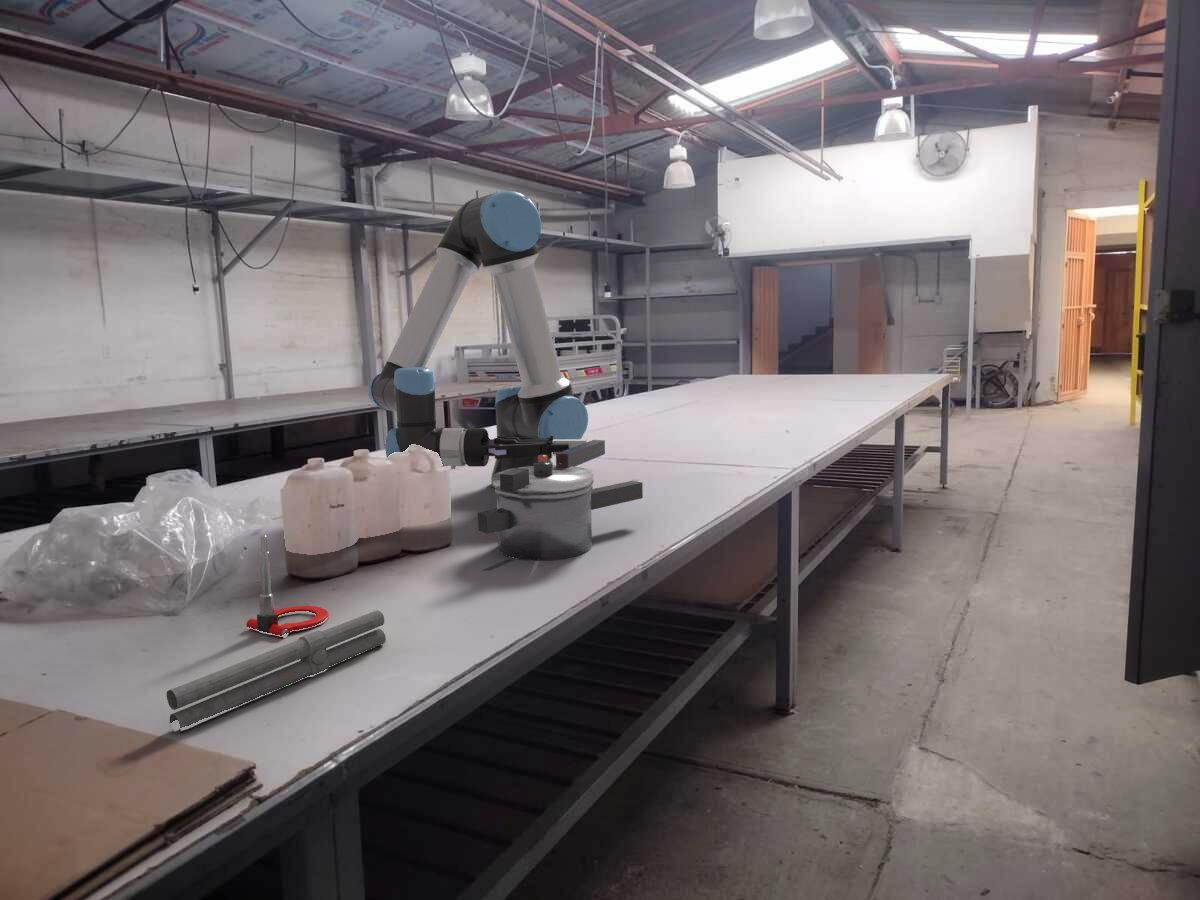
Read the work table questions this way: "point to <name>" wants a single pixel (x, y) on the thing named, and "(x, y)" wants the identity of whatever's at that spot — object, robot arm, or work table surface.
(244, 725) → the work table surface
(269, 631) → the tow hook
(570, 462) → the lid
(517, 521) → the pot
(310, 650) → the metal rod assembly
